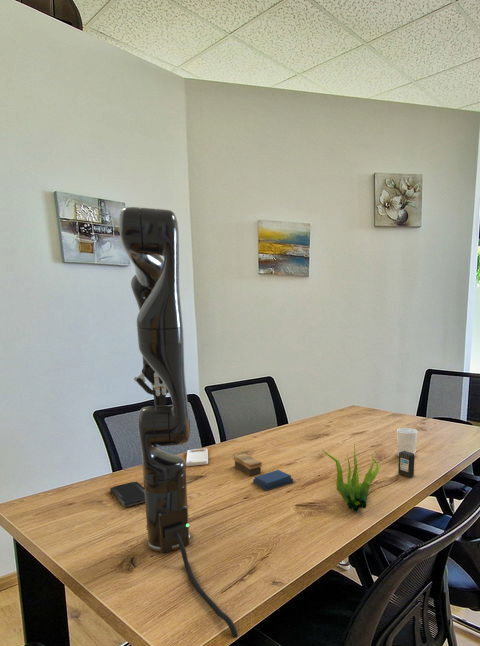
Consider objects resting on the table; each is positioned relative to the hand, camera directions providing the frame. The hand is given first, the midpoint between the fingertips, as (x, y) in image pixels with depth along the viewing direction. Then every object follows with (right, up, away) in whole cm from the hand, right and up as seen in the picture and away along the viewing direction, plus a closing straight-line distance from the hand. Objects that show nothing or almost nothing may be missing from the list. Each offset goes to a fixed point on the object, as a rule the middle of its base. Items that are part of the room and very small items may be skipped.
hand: (160, 407), depth 123 cm
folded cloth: (+30, -25, +16) cm, 42 cm away
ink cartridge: (+74, -24, +23) cm, 81 cm away
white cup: (+77, -21, +42) cm, 90 cm away
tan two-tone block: (+19, -23, +26) cm, 40 cm away
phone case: (-2, -21, +37) cm, 43 cm away
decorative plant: (+53, -26, +10) cm, 60 cm away
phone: (-11, -27, +5) cm, 29 cm away
